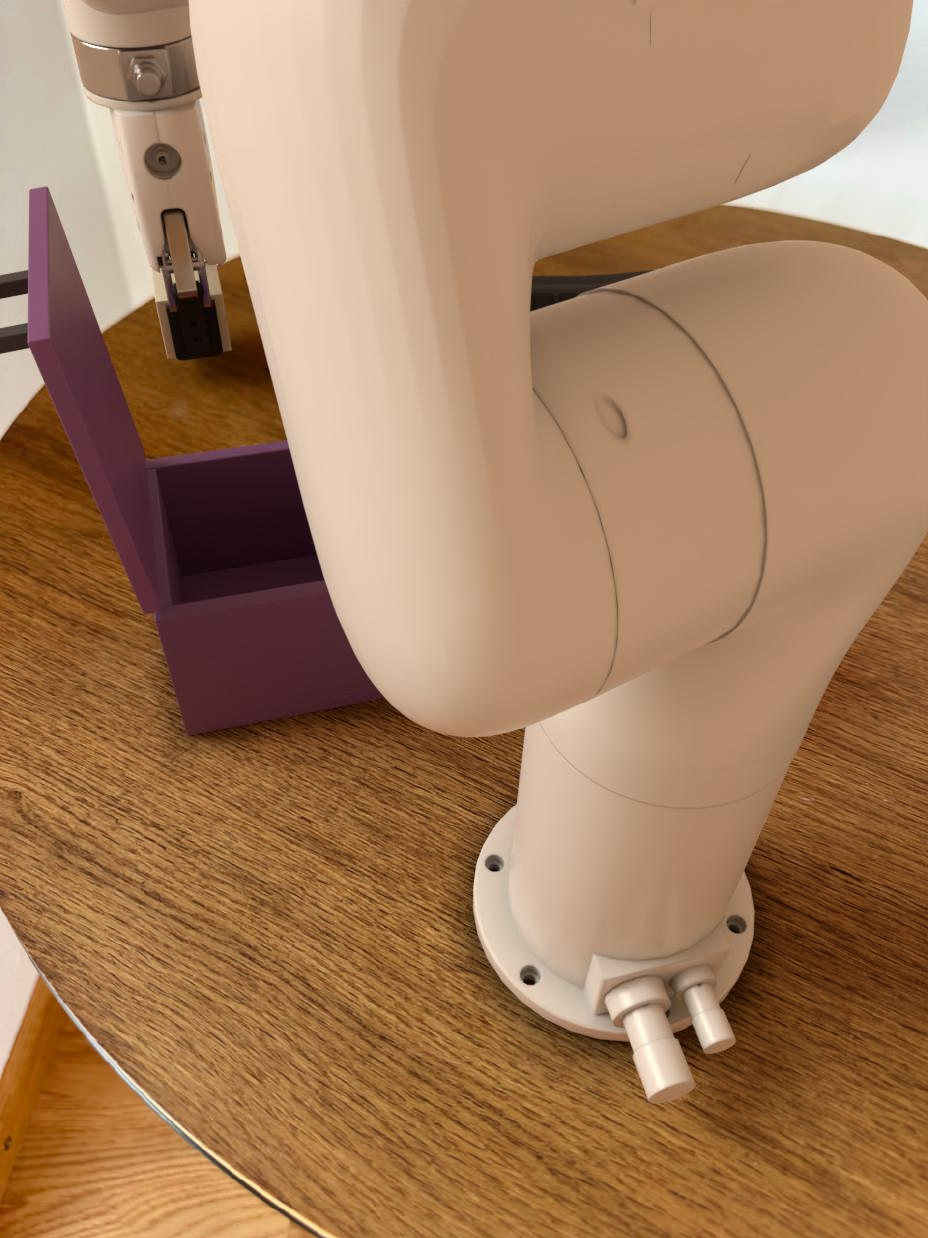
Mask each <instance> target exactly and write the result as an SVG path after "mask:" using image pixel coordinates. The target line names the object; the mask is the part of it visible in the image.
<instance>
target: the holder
mask: <svg viewBox="0 0 928 1238" xmlns="http://www.w3.org/2000/svg"><path fill="white" fill-rule="evenodd" d="M146 468H147V478H148V487H149V497H150V507H151V516H152V526H153V535H154V545H155V554H156V564H157V573H158V583H159V593H160V602H161V611H160V612H156V613H153V614H154V623H155V626H156V629H157V630H156V631H157V633H158V635H159V636H158V637H159V640H160V644H161V647H162V651H163V654H164V658H165V662H166V666H167V669H168V672H169V676H170V680H171V685H172V687H173V691H174V694H175V697H176V701H177V705H178V709H179V712H180V716H181V719H182V723H183V726H184V731H185V733H186V736H189V737H190V736H194V735H199V734H204V733H209V732H215V731H220V730H225V729H230V728H236V727H240V726H245V725H253V724H256V723H262V722H267V721H272V720H278V719H283V718H288V717H294V716H299V715H304V714H309V713H315V712H320V711H325V710H329V709H330V710H331V709H335V708H340V707H346V706H351V705H356V704H360V703H366V702H371V701H377V700H382V699H386V698H385V697H384V696H383V695H382V694H381V693H380V691H379V690H378V689H377V688H376V687H375V685H374V684H373V683H372V681H371V680H370V678H369V677H368V675H367V674H366V672H365V671H364V669H363V667H362V666H361V664H360V662H359V661H358V659H357V657H356V655H355V654H354V652H353V649H352V647H351V645H350V643H349V641H348V639H347V636H346V634H345V632H344V630H343V627H342V625H341V623H340V621H339V619H338V616H337V614H336V611H335V608H334V606H333V603H332V600H331V597H330V594H329V591H328V588H327V585H326V582H325V579H324V576H323V573H322V570H321V566H320V563H319V559H318V555H317V552H316V548H315V545H314V541H313V537H312V534H311V530H310V527H309V523H308V519H307V516H306V512H305V508H304V505H303V501H302V497H301V493H300V489H299V485H298V481H297V477H296V473H295V469H294V465H293V461H292V457H291V453H290V449H289V445H288V441H287V439H286V440H277V441H272V442H264V443H257V444H251V445H243V446H236V447H229V448H222V449H215V450H210V451H200V452H194V453H187V454H186V453H185V454H180V455H173V456H172V455H171V456H166V457H158V458H152V459H146Z"/></svg>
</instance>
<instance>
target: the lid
mask: <svg viewBox="0 0 928 1238" xmlns="http://www.w3.org/2000/svg"><path fill="white" fill-rule="evenodd" d="M27 247H28V248H27V249H28V253H27V255H28V257H27V259H28V263H27V269H26V270H21V271H16V272H15V271H14V272H10V273H5V274H4V273H3V274H0V300H2V299H7V298H13V297H18V296H23V295H27V322H25V323H19V324H14V325H9V326H5V327H0V355H2V354H7V353H8V354H9V353H13V352H17V351H22V350H27V349H29V350H30V352H31V355H32V357H33V359H34V362H35V364H36V367H37V369H38V371H39V374H40V376H41V378H42V380H43V383H44V385H45V388H46V389H47V392H48V394H49V397H50V399H51V401H52V405H53V407H54V408H55V411H56V413H57V416H58V418H59V420H60V423H61V426H62V427H63V429H64V432H65V435H66V437H67V439H68V441H69V443H70V446H71V448H72V451H73V453H74V456H75V458H76V460H77V462H78V464H79V467H80V469H81V472H82V474H83V476H84V478H85V481H86V483H87V485H88V488H89V491H90V492H91V495H92V497H93V500H94V502H95V504H96V507H97V508H98V511H99V513H100V516H101V518H102V520H103V523H104V525H105V528H106V530H107V532H108V535H109V537H110V540H111V541H112V544H113V546H114V548H115V550H116V553H117V555H118V559H119V560H120V562H121V564H122V567H123V570H124V571H125V574H126V576H127V579H128V581H129V583H130V586H131V588H132V591H133V593H134V595H135V598H136V599H137V602H138V605H139V606H140V610H141V611H142V614H143V615H145V616H146V615H151V614H154V613H156V612H160V611H161V602H160V593H159V583H158V573H157V564H156V554H155V545H154V535H153V526H152V516H151V507H150V497H149V487H148V478H147V468H146V460H147V459H146V452H145V448H144V446H143V443H142V440H141V438H140V435H139V431H138V430H137V426H136V424H135V421H134V418H133V416H132V412H131V410H130V407H129V404H128V402H127V399H126V396H125V394H124V390H123V387H122V386H121V382H120V380H119V377H118V375H117V372H116V369H115V366H114V364H113V361H112V358H111V356H110V352H109V350H108V347H107V344H106V341H105V339H104V336H103V333H102V330H101V328H100V325H99V322H98V320H97V316H96V314H95V311H94V309H93V306H92V303H91V301H90V297H89V295H88V293H87V289H86V287H85V284H84V281H83V279H82V275H81V273H80V270H79V267H78V264H77V262H76V259H75V256H74V254H73V251H72V249H71V245H70V243H69V240H68V238H67V235H66V232H65V230H64V226H63V224H62V221H61V218H60V215H59V212H58V210H57V207H56V205H55V202H54V199H53V196H52V194H51V190H50V189H49V187H48V186H47V185H46V186H41V187H40V186H39V187H34V188H30V189H28V245H27Z"/></svg>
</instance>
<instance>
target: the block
mask: <svg viewBox="0 0 928 1238" xmlns="http://www.w3.org/2000/svg"><path fill="white" fill-rule="evenodd" d="M205 264H206V266H205V269H206V275H207V280H208V286H209V292H210V297H211V299H214V300H215V305H216V311H217V317H218V323H219V328H220V334H221V340H222V346H223V353H224V352H231V351H232V350H233V348H232V342H231V336H230V330H229V324H228V318H227V312H226V306H225V300H224V294H223V290H222V289H223V287H222V284H221V280H220V279H221V278H220V275H219V271H218V270H219V269H218V264H214V265H208V264H207V263H205ZM150 271H151V279H152V285H153V294H154V302H155V306H156V307H155V308H156V311H157V315H158V321H159V325H160V330H161V335H162V340H163V345H164V348H165V354H166V358H167V360H169V359H170V360H171V359H177V358H176V355H175V350H174V345H173V340H172V335H171V331H170V326H169V321H168V316H167V311H166V305H169V304H168V299H167V294H166V289H165V284H164V279H163V274H162V271H161V268H160V273H159V272H157V271H155V270H153V269H152V268H151V270H150ZM194 275H195V281H196V280H199V275H198V270H197V271H194ZM171 276H172V281H173V283H176V281H175V276H174V273H171ZM199 282H200V281H199Z"/></svg>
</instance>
